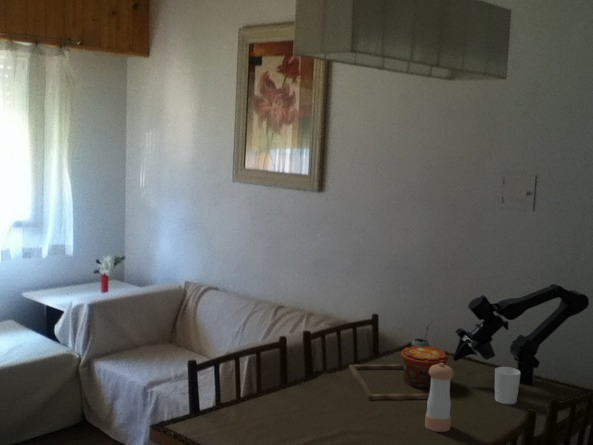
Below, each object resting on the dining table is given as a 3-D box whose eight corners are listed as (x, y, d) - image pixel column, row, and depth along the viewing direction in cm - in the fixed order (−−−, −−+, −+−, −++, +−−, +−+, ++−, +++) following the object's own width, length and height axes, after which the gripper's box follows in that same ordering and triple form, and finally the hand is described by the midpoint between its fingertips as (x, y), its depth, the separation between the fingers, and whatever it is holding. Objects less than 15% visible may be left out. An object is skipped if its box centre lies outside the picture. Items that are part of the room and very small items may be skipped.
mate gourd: (409, 363, 260) (412, 324, 258) (410, 356, 267) (412, 318, 266) (430, 365, 259) (432, 325, 257) (429, 358, 266) (432, 320, 264)
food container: (394, 386, 236) (396, 355, 234) (405, 371, 250) (407, 342, 249) (441, 394, 230) (443, 362, 228) (450, 379, 245) (452, 349, 243)
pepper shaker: (435, 433, 199) (439, 368, 196) (419, 423, 205) (423, 360, 203) (455, 429, 202) (459, 365, 200) (439, 420, 209) (443, 357, 206)
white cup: (519, 406, 222) (521, 376, 220) (493, 403, 223) (496, 373, 222) (516, 397, 229) (519, 368, 228) (492, 394, 231) (494, 365, 230)
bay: (417, 367, 256) (417, 364, 255) (445, 398, 226) (445, 395, 226) (348, 367, 252) (349, 364, 252) (368, 399, 222) (368, 396, 222)
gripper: (513, 353, 233) (478, 385, 233) (490, 337, 251) (458, 366, 251) (492, 330, 231) (458, 362, 231) (471, 315, 249) (439, 345, 249)
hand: (454, 359), depth 241 cm, fingers closed
